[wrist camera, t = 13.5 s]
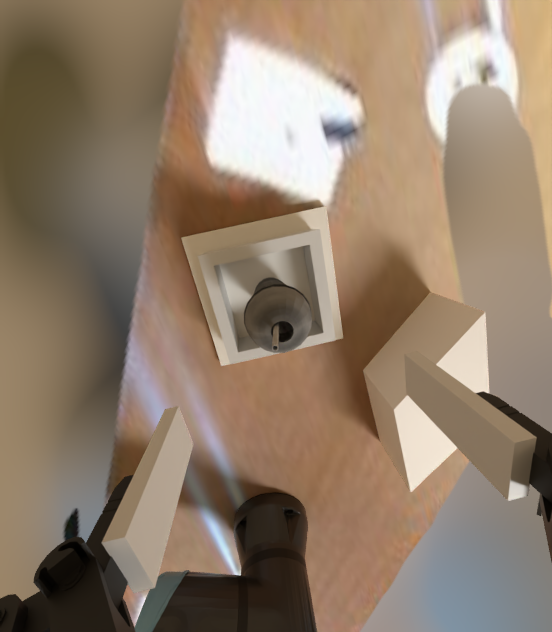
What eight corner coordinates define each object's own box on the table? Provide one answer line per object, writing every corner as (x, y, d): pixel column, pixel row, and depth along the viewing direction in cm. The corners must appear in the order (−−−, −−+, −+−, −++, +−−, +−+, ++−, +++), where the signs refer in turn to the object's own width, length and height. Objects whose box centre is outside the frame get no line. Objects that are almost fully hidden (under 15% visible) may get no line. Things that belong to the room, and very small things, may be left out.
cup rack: (341, 335, 43) (354, 352, 37) (221, 362, 43) (217, 383, 37) (324, 206, 36) (337, 202, 31) (182, 237, 36) (170, 239, 30)
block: (342, 438, 50) (365, 491, 40) (386, 285, 41) (429, 304, 31) (414, 442, 52) (453, 493, 42) (471, 297, 43) (537, 318, 33)
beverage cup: (280, 323, 40) (305, 408, 22) (237, 303, 39) (224, 374, 20) (304, 282, 39) (354, 334, 20) (259, 258, 37) (269, 291, 18)
